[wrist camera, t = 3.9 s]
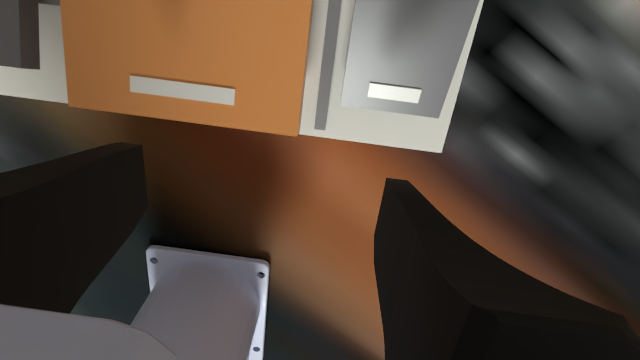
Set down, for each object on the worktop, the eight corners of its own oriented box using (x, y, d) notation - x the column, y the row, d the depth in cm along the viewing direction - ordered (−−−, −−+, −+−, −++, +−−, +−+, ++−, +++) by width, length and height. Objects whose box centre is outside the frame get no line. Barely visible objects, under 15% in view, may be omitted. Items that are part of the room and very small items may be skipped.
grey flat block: (435, 105, 17) (438, 119, 16) (341, 92, 17) (340, 106, 16) (484, -41, 13) (491, -32, 13) (363, -56, 13) (362, -49, 13)
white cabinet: (430, 130, 22) (446, 164, 18) (23, 76, 22) (-45, 98, 18) (487, -94, 17) (525, -112, 13) (-31, -160, 17) (-137, -195, 13)
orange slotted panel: (299, 131, 17) (296, 137, 16) (83, 102, 17) (67, 106, 16) (324, -94, 14) (322, -105, 13) (68, -127, 14) (47, -140, 13)
